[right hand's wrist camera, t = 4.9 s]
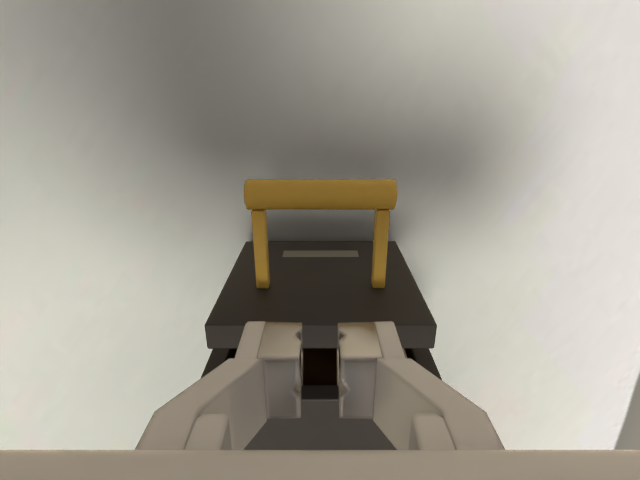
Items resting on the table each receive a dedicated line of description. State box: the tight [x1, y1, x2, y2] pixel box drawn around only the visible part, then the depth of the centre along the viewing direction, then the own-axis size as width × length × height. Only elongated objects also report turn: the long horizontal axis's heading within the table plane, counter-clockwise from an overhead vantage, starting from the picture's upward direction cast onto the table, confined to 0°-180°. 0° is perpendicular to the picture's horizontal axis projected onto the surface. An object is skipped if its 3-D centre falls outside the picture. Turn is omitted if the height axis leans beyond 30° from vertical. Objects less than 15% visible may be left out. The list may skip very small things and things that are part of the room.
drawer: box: [205, 179, 437, 385], centre depth 23 cm, size 25×10×10 cm, turn 0°
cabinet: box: [201, 348, 442, 450], centre depth 25 cm, size 21×11×11 cm, turn 0°
